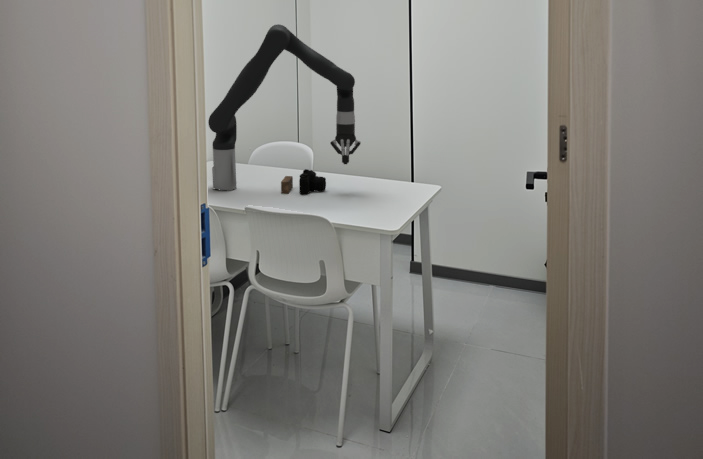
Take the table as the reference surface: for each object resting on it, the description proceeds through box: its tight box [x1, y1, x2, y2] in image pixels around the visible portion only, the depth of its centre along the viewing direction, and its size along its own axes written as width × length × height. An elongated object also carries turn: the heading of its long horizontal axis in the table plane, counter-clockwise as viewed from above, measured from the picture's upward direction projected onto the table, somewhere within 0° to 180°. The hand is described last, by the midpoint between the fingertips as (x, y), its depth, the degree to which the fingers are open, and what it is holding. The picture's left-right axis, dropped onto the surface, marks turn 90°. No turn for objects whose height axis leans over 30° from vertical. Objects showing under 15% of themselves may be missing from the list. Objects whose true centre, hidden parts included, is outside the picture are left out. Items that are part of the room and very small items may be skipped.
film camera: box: [298, 169, 327, 196], centre depth 308 cm, size 15×10×9 cm, turn 168°
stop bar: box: [280, 175, 294, 195], centre depth 309 cm, size 3×11×5 cm, turn 175°
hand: (345, 164), depth 305 cm, fingers closed
